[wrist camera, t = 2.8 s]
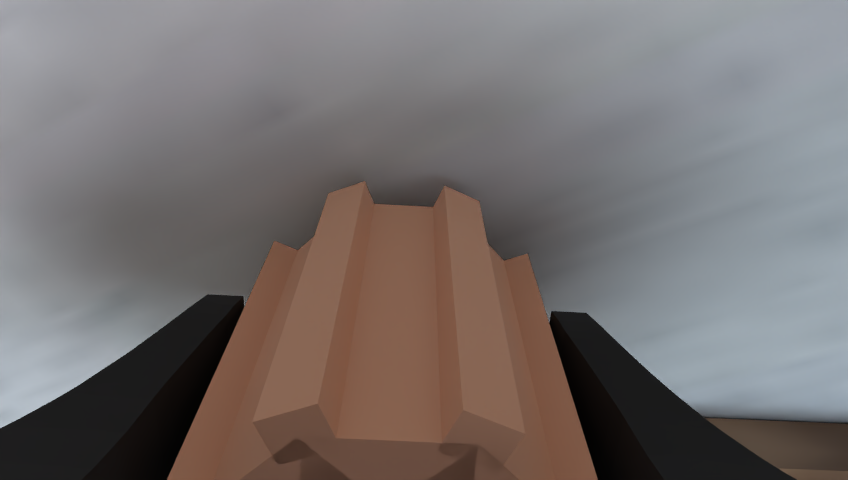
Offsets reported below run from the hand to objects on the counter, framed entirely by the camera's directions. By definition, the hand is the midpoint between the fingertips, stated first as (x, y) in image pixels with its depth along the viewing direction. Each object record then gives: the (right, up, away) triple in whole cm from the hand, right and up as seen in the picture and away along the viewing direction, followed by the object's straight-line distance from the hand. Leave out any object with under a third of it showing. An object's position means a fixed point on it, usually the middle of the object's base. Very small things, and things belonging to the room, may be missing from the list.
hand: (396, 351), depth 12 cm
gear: (0, +1, +1) cm, 1 cm away
